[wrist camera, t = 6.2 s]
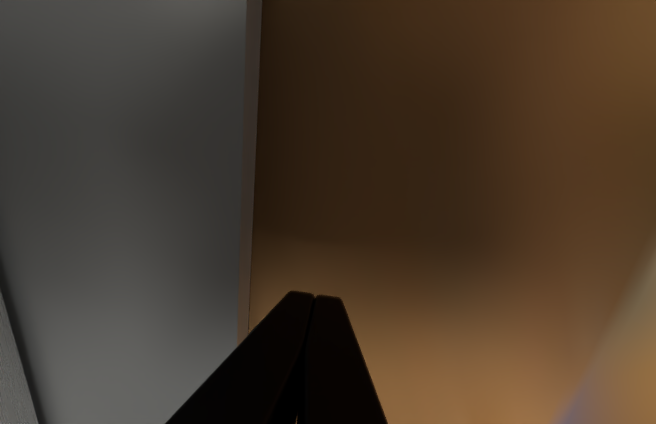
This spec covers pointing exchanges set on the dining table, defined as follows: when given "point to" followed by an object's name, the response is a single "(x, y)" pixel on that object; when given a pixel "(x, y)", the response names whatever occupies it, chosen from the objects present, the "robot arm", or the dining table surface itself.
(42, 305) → the grey flat piece
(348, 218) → the dining table surface
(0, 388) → the tong arm
